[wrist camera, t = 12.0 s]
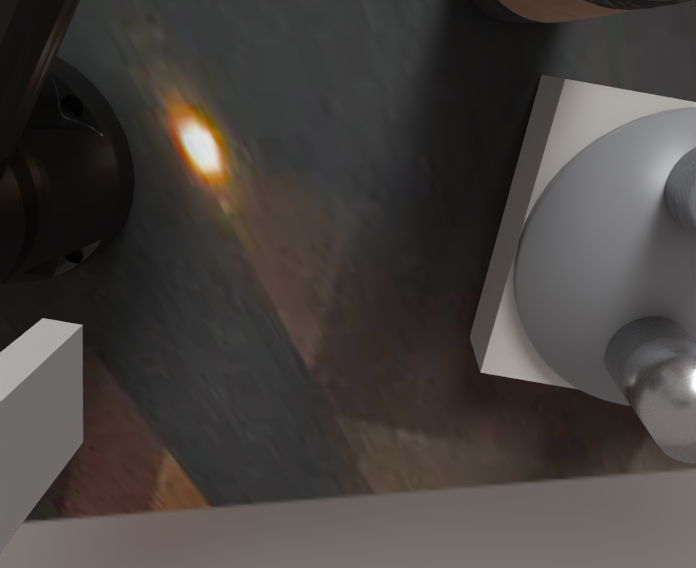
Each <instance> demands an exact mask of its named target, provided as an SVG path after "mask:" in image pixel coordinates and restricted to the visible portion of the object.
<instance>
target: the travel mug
mask: <svg viewBox="0 0 696 568" xmlns="http://www.w3.org/2000/svg"><path fill="white" fill-rule="evenodd" d="M470 1H471V2H472V3H473V4H474V5H475V6H476V7H477V8H478V9H479V10H480V11H481V12H483V13H484V14H486V15H488V16H489V17H491V18H494V19H497V20H500V21H504V22H510V23H558V22H567V21H574V20H580V19H586V18H592V17H598V16H604V15H611V14H617V13H623V12H629V11H635V10H641V9H648V8H654V7H660V6H666V5H673V4H677V3H682V2H686V1H690V0H470Z"/></svg>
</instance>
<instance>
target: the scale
mask: <svg viewBox="0 0 696 568" xmlns="http://www.w3.org/2000/svg"><path fill="white" fill-rule="evenodd" d="M695 147H696V102H691V101H686V100H680V99H675V98H669V97H663V96H658V95H652V94H647V93H641V92H636V91H630V90H624V89H619V88H613V87H608V86H602V85H597V84H591V83H585V82H580V81H574V80H569V79H563V78H558V77H552V76H546V75H541V78H540V82H539V86H538V89H537V93H536V97H535V100H534V104H533V108H532V111H531V115H530V119H529V122H528V126H527V129H526V133H525V137H524V140H523V144H522V148H521V151H520V155H519V159H518V162H517V166H516V170H515V173H514V177H513V181H512V184H511V188H510V192H509V195H508V199H507V202H506V206H505V210H504V213H503V217H502V221H501V224H500V228H499V232H498V235H497V239H496V243H495V246H494V250H493V254H492V257H491V261H490V264H489V268H488V272H487V275H486V279H485V283H484V286H483V290H482V294H481V297H480V301H479V305H478V308H477V312H476V316H475V319H474V323H473V327H472V330H471V334H470V340H471V343H472V346H473V350H474V353H475V356H476V360H477V363H478V366H479V369H480V373H486V374H492V375H498V376H504V377H509V378H515V379H521V380H527V381H533V382H538V383H544V384H550V385H556V386H562V387H567V388H573V389H579V390H581V391H583V392H585V393H587V394H589V395H592V396H594V397H597V398H600V399H603V400H605V401H609V402H613V403H618V404H622V405H628V406H631V405H630V404H629V403H628V401H627V400H626V398H625V397H624V395H623V394H622V392H621V391H620V390H619V388H618V387H617V385H616V384H615V382H614V381H613V379H612V378H611V376H610V375H609V373H608V372H607V369H606V366H605V351H606V347H607V345H608V343H609V341H610V340H611V338H612V337H613V335H614V334H615V333H616V332H617V331H618V330H619V329H620V328H622V327H623V326H625V325H626V324H628V323H630V322H632V321H634V320H637V319H640V318H644V317H651V316H657V317H664V318H668V319H671V320H673V321H675V322H677V323H678V324H679V325H681V326H682V327H683V328H684V329H685V330H686V331H687V332H688V333H689V334H690V335H691V336H693V337H694V338H695V339H696V235H695V234H693V233H692V232H690V231H688V230H687V229H685V228H683V227H682V226H680V225H679V224H677V223H676V222H675V221H674V220H673V219H672V218H671V216H670V215H669V213H668V211H667V209H666V206H665V202H664V189H665V184H666V181H667V178H668V176H669V173H670V172H671V170H672V168H673V167H674V165H675V164H676V163H677V162H678V161H679V159H680V158H681V157H682V156H684V155H685V154H686V153H687V152H689V151H690V150H692V149H693V148H695Z"/></svg>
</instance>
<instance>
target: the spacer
mask: <svg viewBox="0 0 696 568" xmlns="http://www.w3.org/2000/svg"><path fill="white" fill-rule="evenodd" d="M605 366H606V369H607V372H608V373H609V375H610V376H611V378H612V379H613V381H614V382H615V384H616V385H617V387H618V388H619V390H620V391H621V392H622V394H623V395H624V397H625V398H626V400H627V401H628V403H629V404H630V405H631V407H632V408H633V410H634V411H635V413H636V414H637V416H638V417H639V419H640V420H641V421H642V423H643V424H644V426H645V427H646V429H647V430H648V432H649V433H650V434H651V436H652V437H653V439H654V440H655V442H656V443H657V445H658V446H659V447H660V449H661V450H662V451H663V452H664V453H665V454H667V455H668V456H669V457H671V458H673V459H675V460H678V461H681V462H685V463H691V464H696V339H695V338H694V337H693V336H691V335H690V334H689V333H688V332H687V331H686V330H685V329H684V328H683V327H682V326H681V325H679V324H678V323H677V322H675V321H673V320H671V319H668V318H664V317H657V316H651V317H644V318H640V319H637V320H634V321H632V322H630V323H628V324H626V325H625V326H623V327H622V328H620V329H619V330H618V331H617V332H616V333H615V334H614V335H613V337H612V338H611V340H610V341H609V343H608V345H607V347H606V351H605Z"/></svg>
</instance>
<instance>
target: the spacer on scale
mask: <svg viewBox="0 0 696 568" xmlns="http://www.w3.org/2000/svg"><path fill="white" fill-rule="evenodd" d="M664 202H665V206H666V209H667V211H668V213H669V215H670V216H671V218H672V219H673V220H674V221H675V222H676V223H677V224H679V225H680V226H682V227H683V228H685V229H687V230H688V231H690V232H692V233H693V234H695V235H696V147H695V148H693V149H692V150H690V151H689V152H687V153H686V154H685V155H684V156H682V157H681V158H680V159H679V161H678V162H677V163H676V164H675V165H674V167H673V168H672V170H671V172H670V173H669V176H668V178H667V181H666V184H665V189H664Z"/></svg>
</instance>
